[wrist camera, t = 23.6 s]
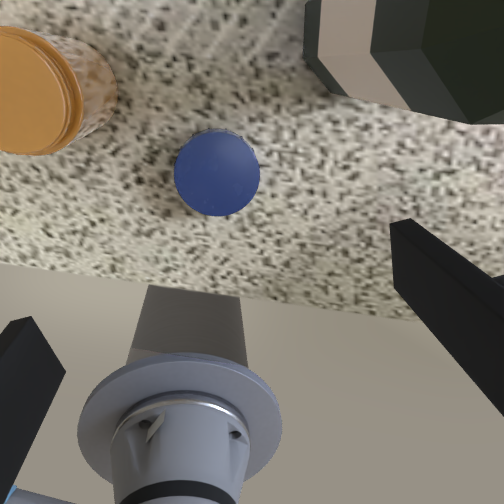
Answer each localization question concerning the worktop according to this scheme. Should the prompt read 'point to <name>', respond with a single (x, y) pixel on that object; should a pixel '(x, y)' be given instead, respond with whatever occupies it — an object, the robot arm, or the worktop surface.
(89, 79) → the jam jar
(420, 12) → the wine bottle
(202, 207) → the jam lid
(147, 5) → the worktop surface
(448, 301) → the robot arm
